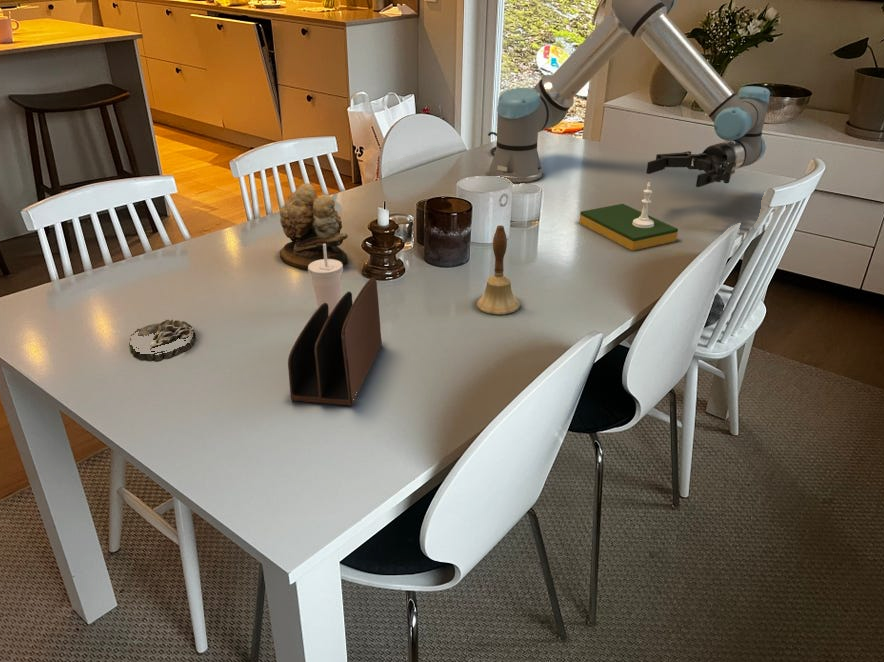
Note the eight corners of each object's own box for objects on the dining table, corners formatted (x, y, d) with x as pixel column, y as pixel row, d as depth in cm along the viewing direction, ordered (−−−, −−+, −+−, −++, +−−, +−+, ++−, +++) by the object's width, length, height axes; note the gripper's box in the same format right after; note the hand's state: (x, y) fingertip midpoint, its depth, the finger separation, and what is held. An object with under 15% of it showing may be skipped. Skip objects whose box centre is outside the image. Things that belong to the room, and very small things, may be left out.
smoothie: (318, 323, 138) (311, 252, 131) (307, 309, 143) (300, 240, 135) (351, 315, 140) (346, 246, 133) (339, 302, 145) (334, 234, 138)
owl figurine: (364, 259, 164) (359, 182, 155) (328, 277, 155) (321, 198, 146) (303, 242, 172) (295, 169, 163) (266, 259, 164) (256, 182, 155)
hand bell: (467, 306, 144) (469, 227, 136) (493, 292, 149) (496, 215, 141) (502, 319, 139) (506, 238, 131) (528, 304, 145) (532, 225, 136)
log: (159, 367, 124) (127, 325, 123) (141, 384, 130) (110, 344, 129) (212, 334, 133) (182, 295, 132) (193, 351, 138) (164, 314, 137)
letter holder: (382, 344, 131) (378, 270, 124) (352, 407, 114) (346, 325, 107) (327, 340, 132) (320, 266, 125) (290, 401, 115) (279, 320, 108)
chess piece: (652, 221, 176) (658, 179, 171) (655, 228, 172) (661, 186, 167) (631, 220, 176) (636, 178, 171) (633, 227, 172) (639, 185, 167)
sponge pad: (579, 223, 183) (580, 211, 182) (621, 215, 188) (622, 203, 187) (632, 250, 168) (633, 238, 167) (676, 241, 173) (678, 228, 172)
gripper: (681, 133, 193) (631, 147, 181) (772, 153, 177) (723, 170, 164) (676, 162, 196) (627, 178, 184) (765, 184, 180) (717, 203, 168)
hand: (672, 174), depth 174 cm, fingers open, 13 cm apart
